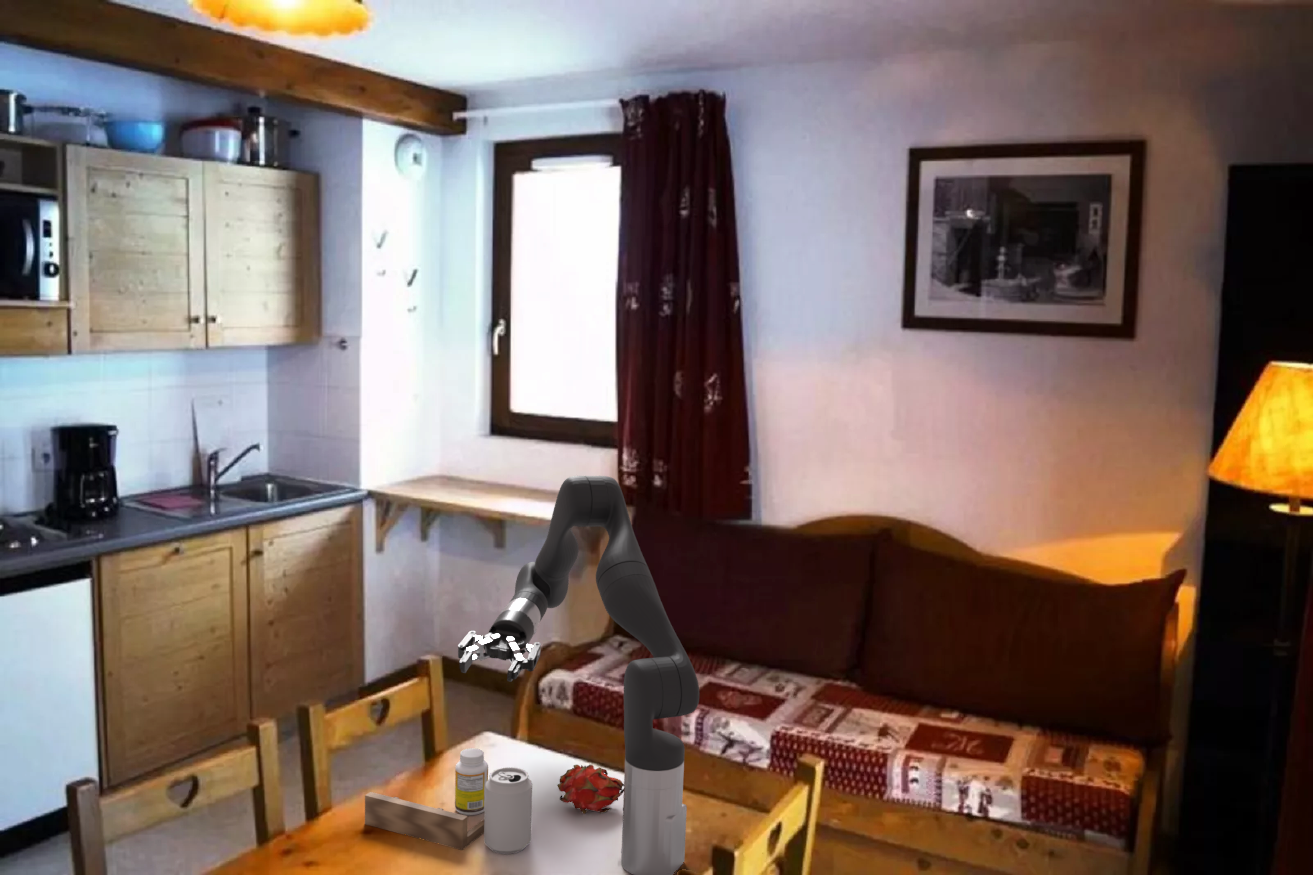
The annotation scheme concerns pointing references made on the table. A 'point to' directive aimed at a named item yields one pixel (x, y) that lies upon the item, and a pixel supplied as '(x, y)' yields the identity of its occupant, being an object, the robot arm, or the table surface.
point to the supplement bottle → (470, 782)
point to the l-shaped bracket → (420, 821)
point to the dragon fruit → (589, 788)
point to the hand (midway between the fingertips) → (486, 672)
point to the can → (508, 810)
